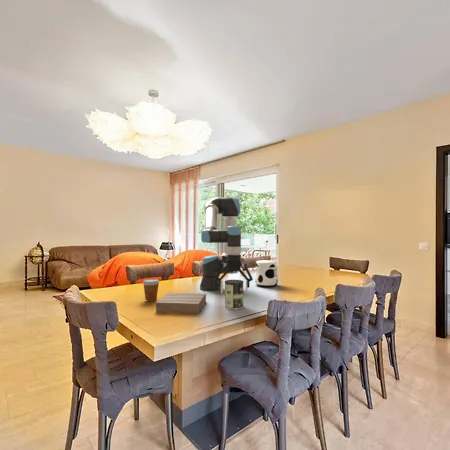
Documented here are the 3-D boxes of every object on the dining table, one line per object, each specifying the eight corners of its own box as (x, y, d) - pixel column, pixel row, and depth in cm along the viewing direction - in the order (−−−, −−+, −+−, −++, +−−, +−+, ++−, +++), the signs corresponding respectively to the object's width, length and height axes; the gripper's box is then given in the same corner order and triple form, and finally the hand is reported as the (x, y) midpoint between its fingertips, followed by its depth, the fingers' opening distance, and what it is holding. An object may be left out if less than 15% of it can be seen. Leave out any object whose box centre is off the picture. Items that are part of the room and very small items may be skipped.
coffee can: (244, 304, 157) (244, 279, 157) (242, 310, 146) (242, 283, 147) (226, 303, 159) (226, 279, 159) (222, 309, 148) (222, 282, 149)
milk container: (252, 283, 217) (252, 260, 217) (274, 283, 219) (274, 260, 219) (257, 288, 200) (257, 263, 200) (281, 287, 201) (281, 262, 202)
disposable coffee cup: (162, 299, 169) (162, 279, 169) (153, 303, 160) (153, 282, 160) (148, 297, 172) (148, 278, 172) (139, 301, 163) (139, 281, 163)
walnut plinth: (169, 301, 165) (169, 292, 165) (205, 302, 162) (205, 293, 162) (156, 312, 143) (156, 302, 143) (198, 313, 140) (198, 303, 140)
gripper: (210, 254, 150) (210, 294, 150) (257, 255, 148) (257, 295, 147) (212, 253, 158) (212, 291, 157) (256, 253, 155) (257, 292, 155)
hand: (234, 293), depth 152 cm, fingers open, 13 cm apart
